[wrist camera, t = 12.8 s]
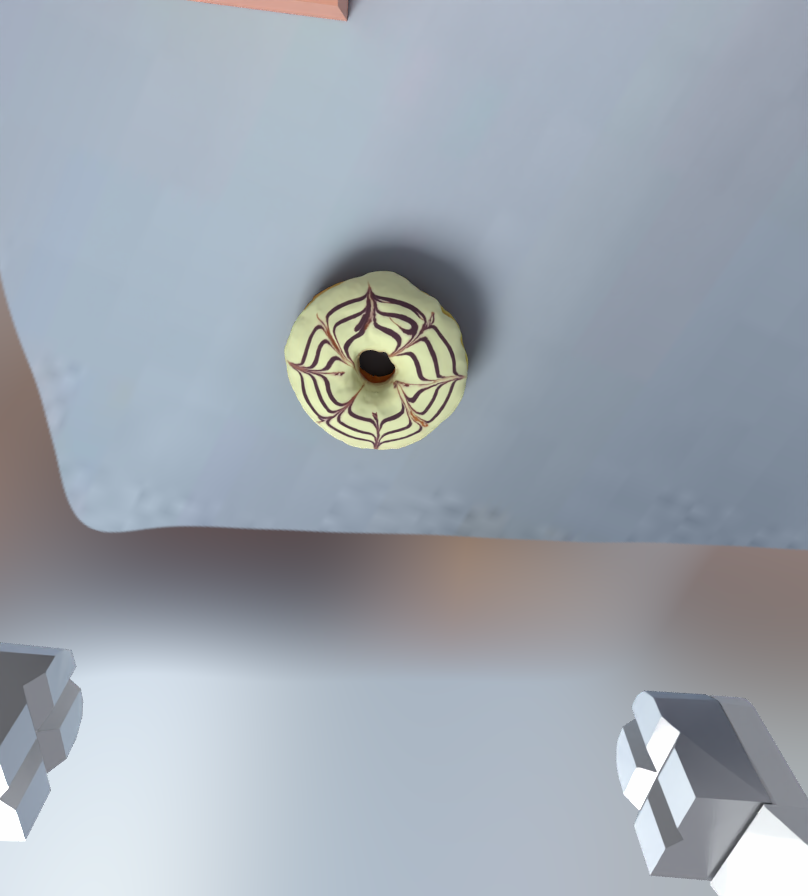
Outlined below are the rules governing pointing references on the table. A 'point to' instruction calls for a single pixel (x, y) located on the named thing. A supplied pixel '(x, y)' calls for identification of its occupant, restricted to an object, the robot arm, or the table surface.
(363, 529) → the table surface
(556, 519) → the table surface
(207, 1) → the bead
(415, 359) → the decorated donut
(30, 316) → the table surface
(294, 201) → the table surface
